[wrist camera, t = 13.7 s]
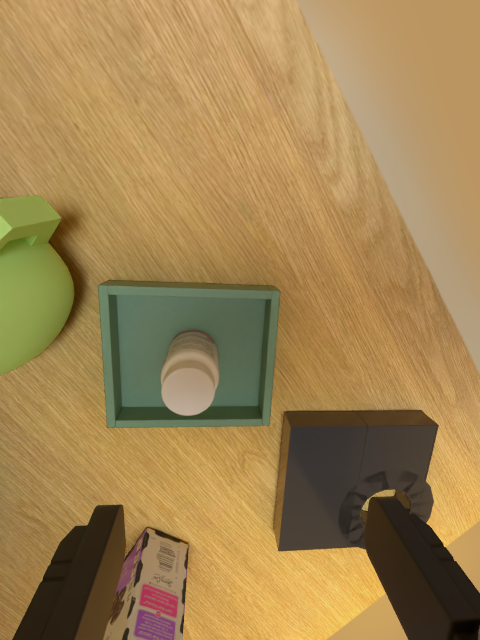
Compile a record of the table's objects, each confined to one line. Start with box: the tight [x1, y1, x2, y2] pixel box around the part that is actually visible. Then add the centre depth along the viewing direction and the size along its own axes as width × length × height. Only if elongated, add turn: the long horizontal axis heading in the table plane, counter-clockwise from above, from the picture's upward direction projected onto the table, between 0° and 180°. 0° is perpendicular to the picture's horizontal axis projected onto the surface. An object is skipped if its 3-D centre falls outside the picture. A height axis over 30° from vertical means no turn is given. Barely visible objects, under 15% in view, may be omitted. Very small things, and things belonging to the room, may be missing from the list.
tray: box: [98, 280, 280, 428], centre depth 31 cm, size 16×14×3 cm
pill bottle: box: [161, 330, 219, 416], centre depth 28 cm, size 5×5×8 cm
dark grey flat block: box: [273, 410, 439, 551], centre depth 37 cm, size 18×17×3 cm
